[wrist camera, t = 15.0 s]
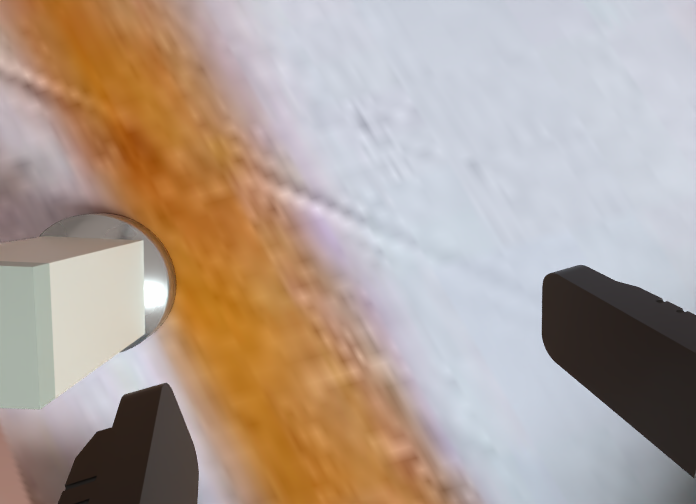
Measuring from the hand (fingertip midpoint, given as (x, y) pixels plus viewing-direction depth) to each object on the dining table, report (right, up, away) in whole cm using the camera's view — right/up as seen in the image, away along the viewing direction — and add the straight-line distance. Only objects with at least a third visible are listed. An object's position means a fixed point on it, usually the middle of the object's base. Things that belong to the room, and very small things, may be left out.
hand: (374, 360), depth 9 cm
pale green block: (-16, 0, +19) cm, 25 cm away
